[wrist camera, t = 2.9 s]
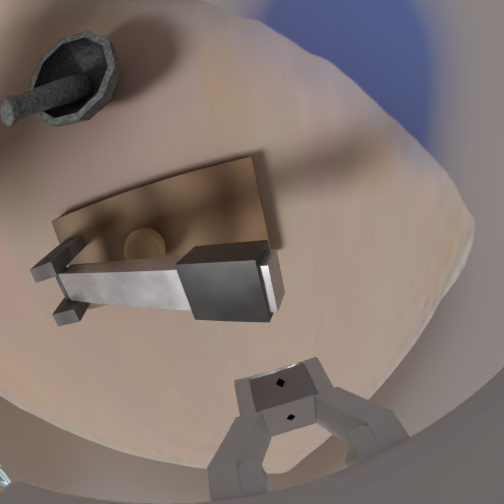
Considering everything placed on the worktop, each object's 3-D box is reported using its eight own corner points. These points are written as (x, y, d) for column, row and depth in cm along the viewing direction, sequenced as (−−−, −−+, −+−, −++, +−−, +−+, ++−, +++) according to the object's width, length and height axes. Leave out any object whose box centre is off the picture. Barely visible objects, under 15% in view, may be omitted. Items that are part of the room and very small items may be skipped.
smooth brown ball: (137, 265, 30) (128, 283, 26) (124, 229, 28) (112, 242, 24) (172, 255, 30) (169, 272, 26) (160, 218, 28) (154, 229, 24)
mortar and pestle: (107, 37, 21) (69, -5, 10) (147, 86, 25) (118, 53, 14) (39, 102, 22) (-20, 91, 11) (74, 153, 26) (16, 160, 14)
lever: (87, 292, 25) (71, 306, 23) (71, 258, 24) (54, 270, 21) (286, 296, 18) (277, 322, 15) (275, 238, 16) (264, 259, 14)
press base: (93, 301, 32) (68, 348, 23) (58, 217, 28) (15, 244, 18) (269, 254, 34) (294, 293, 25) (248, 156, 30) (269, 159, 20)
